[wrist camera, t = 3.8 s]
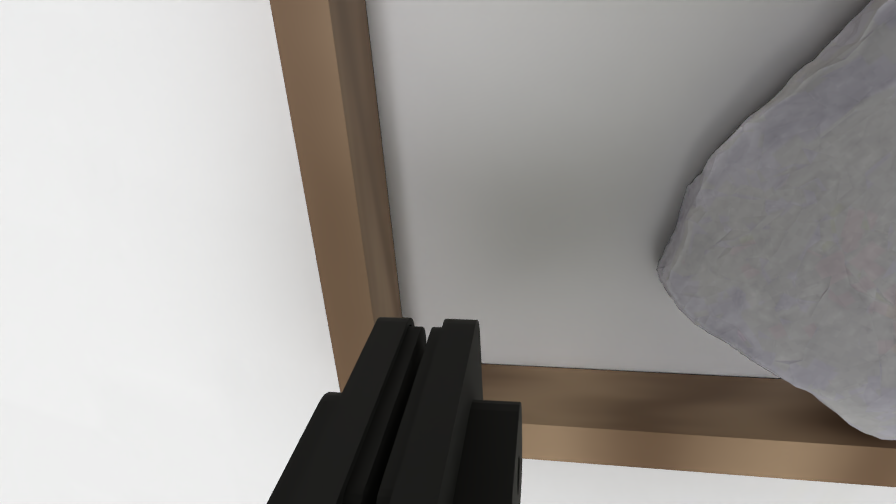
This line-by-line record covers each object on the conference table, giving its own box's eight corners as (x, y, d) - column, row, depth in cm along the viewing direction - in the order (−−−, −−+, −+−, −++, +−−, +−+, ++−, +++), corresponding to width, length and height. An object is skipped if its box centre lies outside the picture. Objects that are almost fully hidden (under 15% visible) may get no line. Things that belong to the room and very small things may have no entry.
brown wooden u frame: (1240, -258, 13) (1417, -307, 10) (967, 425, 21) (1026, 497, 18) (291, -156, 16) (238, -172, 14) (373, 389, 24) (349, 444, 22)
